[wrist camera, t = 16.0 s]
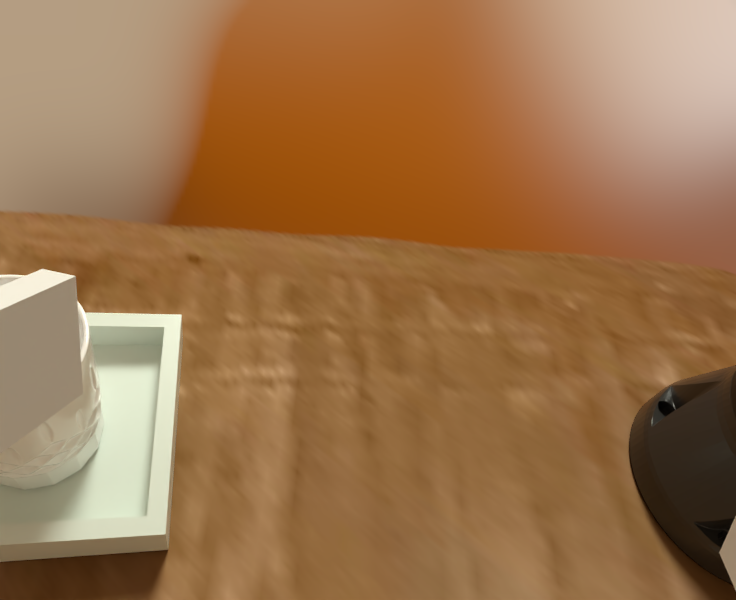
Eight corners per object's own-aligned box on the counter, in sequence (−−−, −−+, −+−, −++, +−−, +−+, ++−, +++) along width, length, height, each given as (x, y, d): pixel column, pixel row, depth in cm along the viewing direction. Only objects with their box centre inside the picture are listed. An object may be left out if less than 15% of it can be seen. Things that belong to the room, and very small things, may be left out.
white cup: (-69, 481, 32) (-156, 393, 24) (11, 361, 37) (-41, 256, 29) (76, 516, 33) (35, 441, 25) (136, 392, 37) (117, 298, 30)
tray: (182, 339, 41) (181, 314, 39) (168, 549, 33) (165, 534, 31) (-119, 336, 37) (-141, 307, 35) (-222, 577, 29) (-259, 561, 27)
